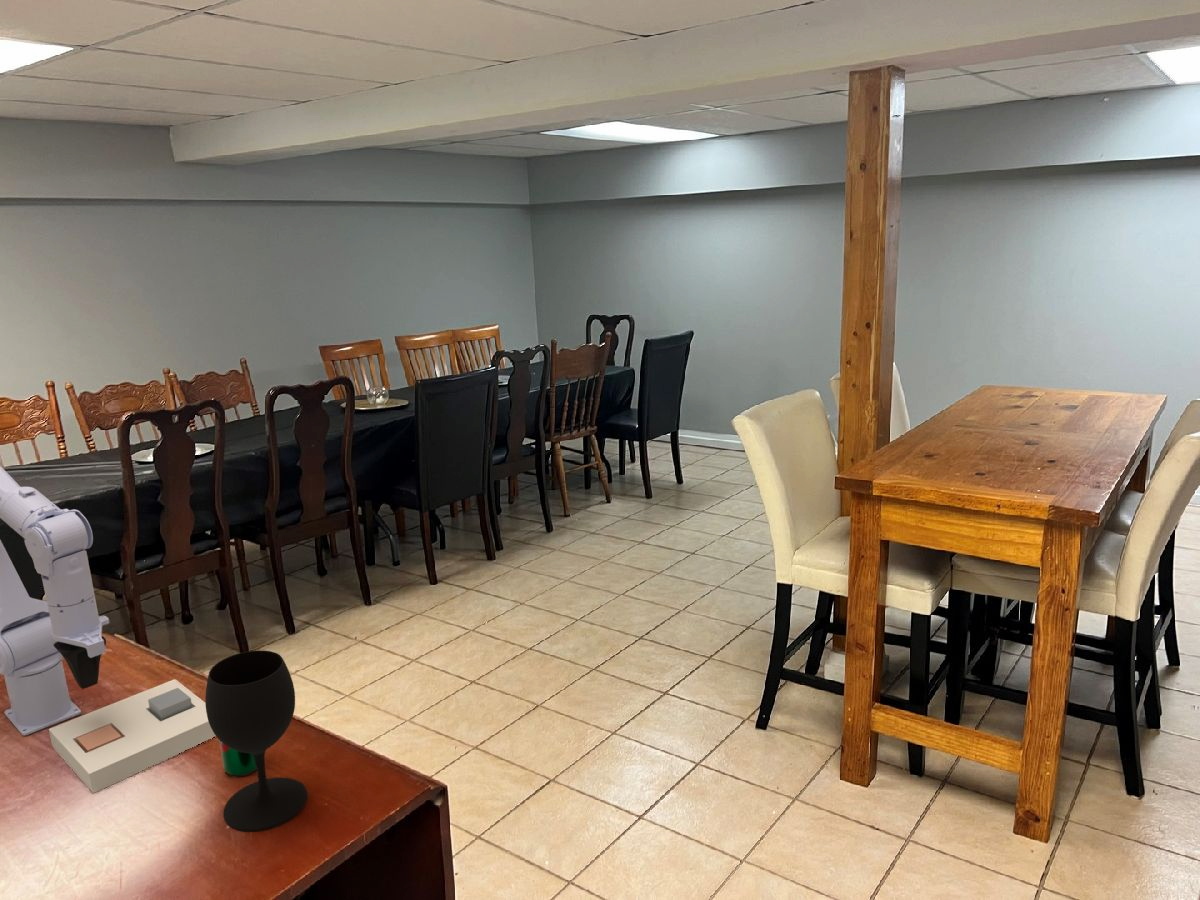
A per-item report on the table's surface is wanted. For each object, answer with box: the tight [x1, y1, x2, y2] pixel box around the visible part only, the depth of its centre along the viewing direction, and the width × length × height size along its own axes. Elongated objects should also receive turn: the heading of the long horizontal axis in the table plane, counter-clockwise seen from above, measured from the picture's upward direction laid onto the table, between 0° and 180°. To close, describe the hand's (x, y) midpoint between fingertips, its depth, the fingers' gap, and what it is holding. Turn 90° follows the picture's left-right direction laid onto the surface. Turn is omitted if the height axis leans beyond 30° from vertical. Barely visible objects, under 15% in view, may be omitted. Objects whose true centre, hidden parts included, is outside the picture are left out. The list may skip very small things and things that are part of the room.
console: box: [48, 678, 216, 794], centre depth 128 cm, size 16×18×3 cm
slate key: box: [148, 688, 192, 721], centre depth 131 cm, size 4×4×2 cm
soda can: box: [218, 739, 257, 777], centre depth 120 cm, size 5×5×12 cm
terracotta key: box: [77, 725, 122, 753], centre depth 124 cm, size 4×4×2 cm
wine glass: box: [204, 649, 308, 833], centre depth 111 cm, size 10×10×20 cm
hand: (88, 684), depth 125 cm, fingers closed
